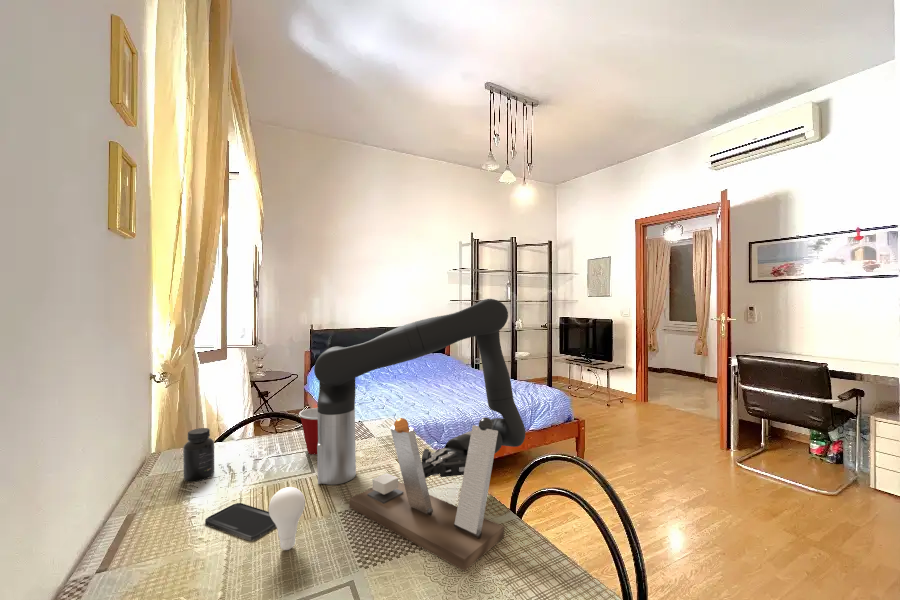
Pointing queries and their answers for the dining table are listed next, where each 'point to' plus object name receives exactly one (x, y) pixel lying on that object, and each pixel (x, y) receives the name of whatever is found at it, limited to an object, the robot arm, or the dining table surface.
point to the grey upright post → (476, 478)
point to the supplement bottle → (198, 455)
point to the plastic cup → (310, 428)
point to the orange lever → (411, 466)
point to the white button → (385, 483)
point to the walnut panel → (427, 525)
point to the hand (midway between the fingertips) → (416, 474)
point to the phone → (242, 521)
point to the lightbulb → (287, 514)
